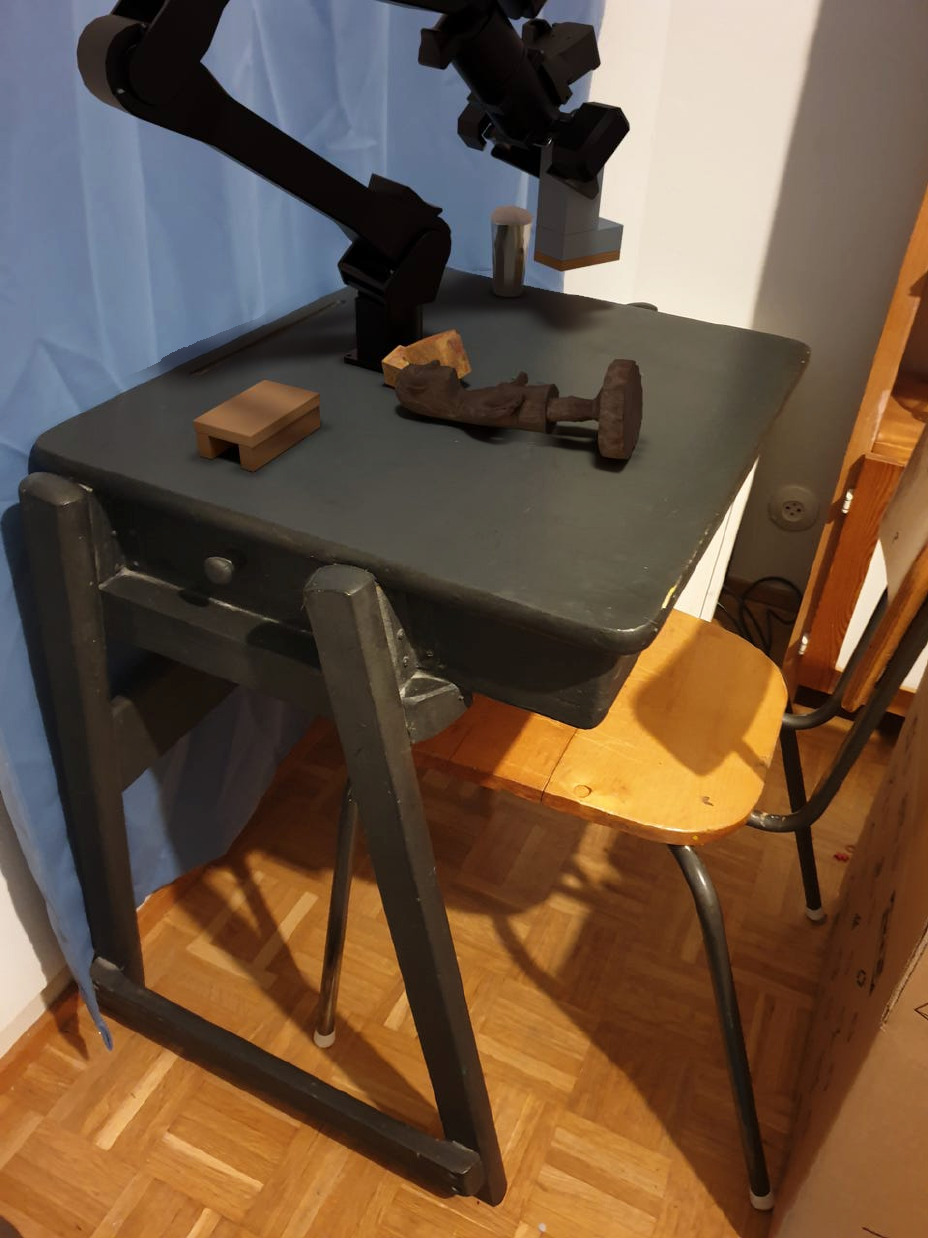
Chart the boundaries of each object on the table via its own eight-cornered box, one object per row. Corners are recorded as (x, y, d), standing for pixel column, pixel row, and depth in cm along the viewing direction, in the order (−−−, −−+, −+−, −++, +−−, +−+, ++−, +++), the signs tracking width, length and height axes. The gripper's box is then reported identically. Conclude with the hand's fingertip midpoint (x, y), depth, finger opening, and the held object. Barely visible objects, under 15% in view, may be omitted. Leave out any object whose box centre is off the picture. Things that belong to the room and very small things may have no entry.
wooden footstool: (268, 413, 78) (264, 379, 76) (322, 427, 76) (319, 392, 74) (198, 455, 72) (192, 419, 70) (255, 472, 70) (250, 436, 68)
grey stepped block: (560, 271, 92) (573, 138, 85) (533, 260, 95) (542, 130, 88) (619, 260, 96) (636, 131, 89) (591, 249, 99) (604, 123, 92)
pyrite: (412, 386, 86) (398, 342, 85) (472, 373, 83) (459, 326, 81) (384, 402, 83) (369, 356, 81) (446, 389, 79) (431, 340, 77)
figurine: (627, 353, 67) (376, 352, 74) (620, 459, 68) (374, 449, 75) (647, 364, 75) (420, 362, 82) (640, 459, 77) (417, 449, 83)
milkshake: (535, 300, 103) (543, 204, 97) (487, 298, 103) (491, 202, 97) (534, 287, 107) (541, 193, 101) (487, 285, 107) (491, 192, 101)
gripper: (629, -8, 73) (700, 137, 85) (487, -23, 85) (567, 106, 97) (543, 112, 74) (626, 239, 86) (414, 81, 86) (502, 196, 98)
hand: (579, 190), depth 91 cm, fingers closed on grey stepped block, 4 cm apart
